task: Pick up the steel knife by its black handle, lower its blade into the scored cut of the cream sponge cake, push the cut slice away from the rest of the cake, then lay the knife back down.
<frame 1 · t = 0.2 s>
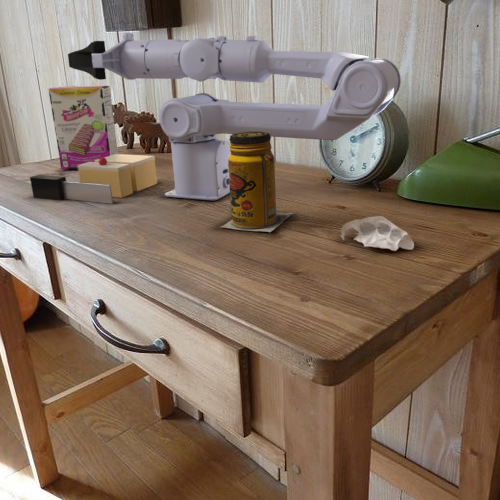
hand: (86, 59, 90), 21 cm above the table, tool horizontal, fingers open, 7 cm apart
candy bar box: (91, 168, 113), on the table
condiment: (257, 223, 74), on the table
cake: (128, 185, 97), on the table
cake slice: (107, 193, 92), on the table
white irregular chunk: (375, 246, 63), on the table
knife: (51, 197, 91), on the table
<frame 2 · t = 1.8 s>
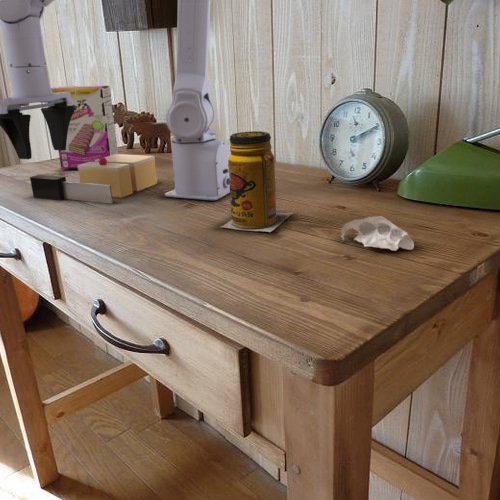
hand: (43, 154, 89), 7 cm above the table, tool pointing down, fingers open, 7 cm apart
nothing on the table moved.
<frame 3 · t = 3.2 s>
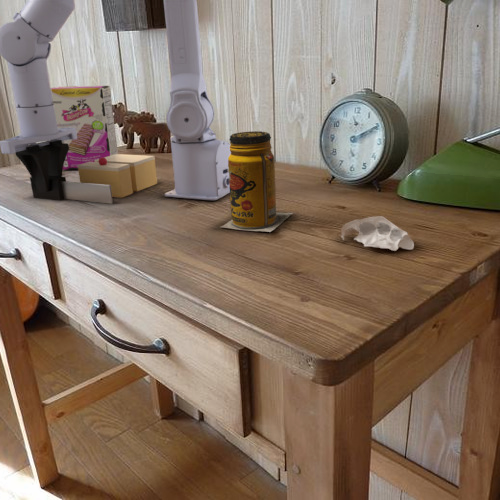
hand: (49, 189, 91), 1 cm above the table, tool pointing down, fingers closed on knife, 2 cm apart
knife: (51, 197, 91), on the table, touching gripper
everything else where it was.
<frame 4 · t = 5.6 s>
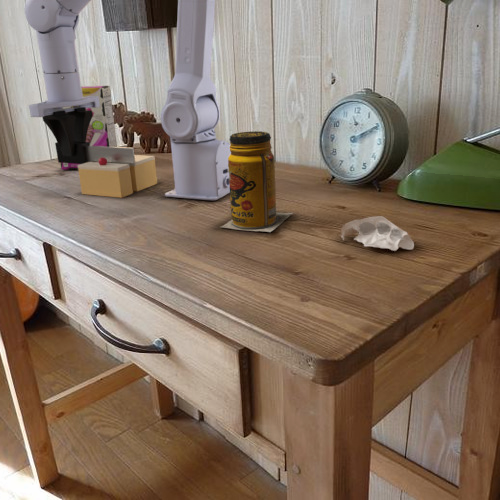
hand: (74, 154, 95), 6 cm above the table, tool pointing down, fingers closed on knife
knife: (75, 162, 95), point 5 cm above the table, touching gripper
everything else where it was.
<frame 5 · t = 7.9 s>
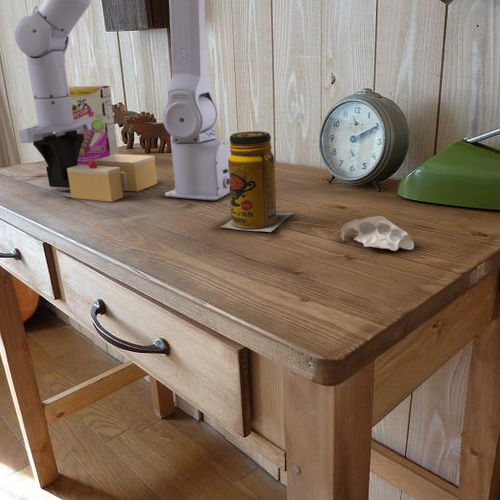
hand: (65, 178, 94), 2 cm above the table, tool pointing down, fingers closed on knife, 2 cm apart
cake slice: (97, 197, 90), on the table, touching knife
knife: (66, 186, 94), point 1 cm above the table, touching cake slice, gripper
everything else where it was.
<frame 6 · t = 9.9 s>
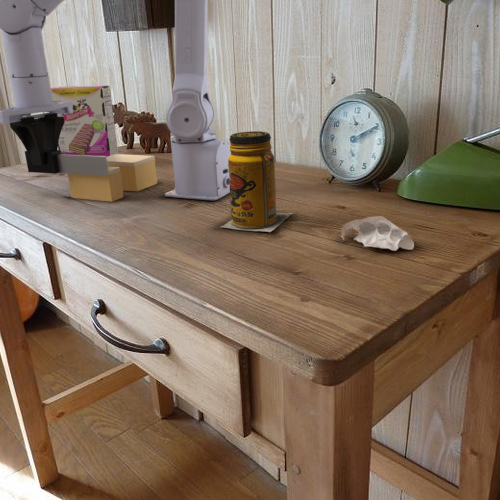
hand: (45, 163, 89), 6 cm above the table, tool pointing down, fingers closed on knife
cake slice: (97, 197, 90), on the table
knife: (46, 171, 90), point 4 cm above the table, touching gripper
everything else where it was.
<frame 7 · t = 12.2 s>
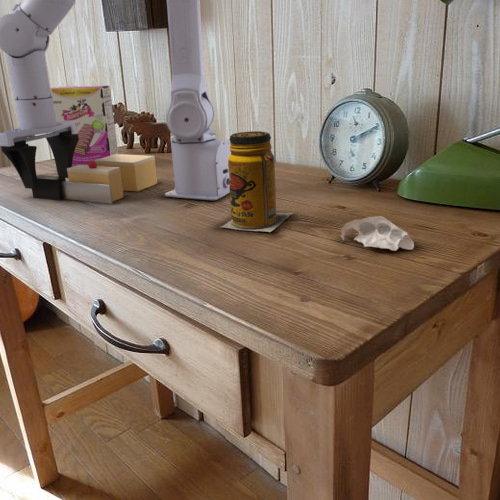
hand: (48, 182, 90), 3 cm above the table, tool pointing down, fingers open, 7 cm apart
knife: (50, 197, 91), on the table
everything else where it was.
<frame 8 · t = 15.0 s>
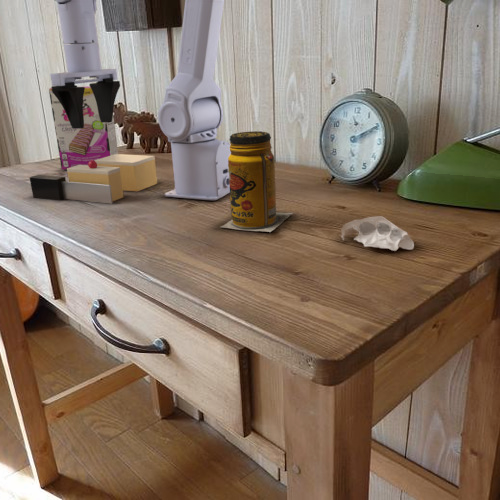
hand: (92, 125, 97), 10 cm above the table, tool pointing down, fingers open, 7 cm apart
nothing on the table moved.
at the end: cake slice moved 2.6 cm from its start; cake slice touching table; cake moved 0.0 cm from its start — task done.
